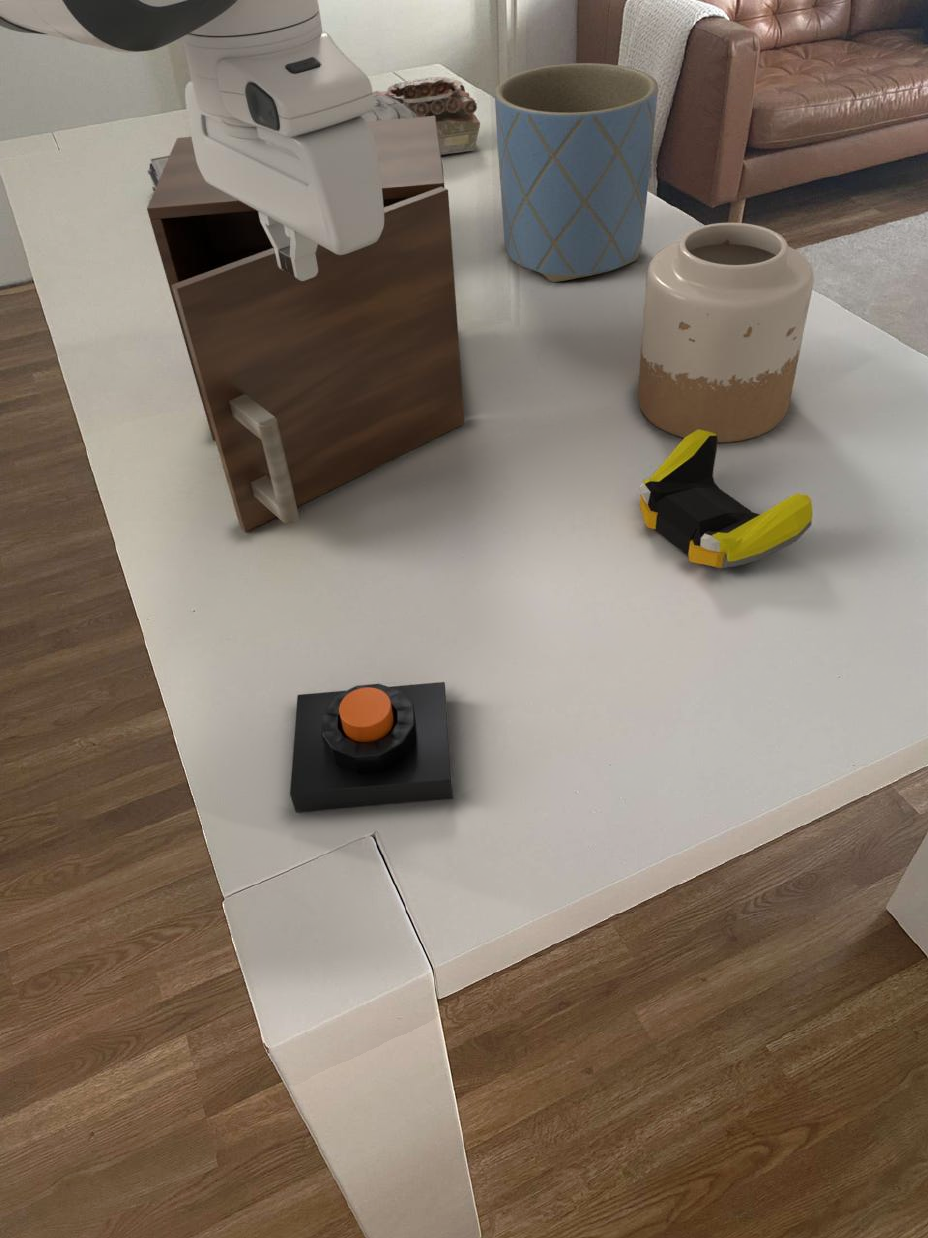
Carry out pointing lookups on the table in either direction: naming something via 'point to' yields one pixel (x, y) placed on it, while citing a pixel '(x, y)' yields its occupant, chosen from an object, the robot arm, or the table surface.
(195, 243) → the cupboard
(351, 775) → the control block
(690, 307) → the vase
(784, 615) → the table surface
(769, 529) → the gaming controller
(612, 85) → the planter
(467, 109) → the tank model
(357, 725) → the button
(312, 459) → the cupboard door
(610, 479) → the table surface
